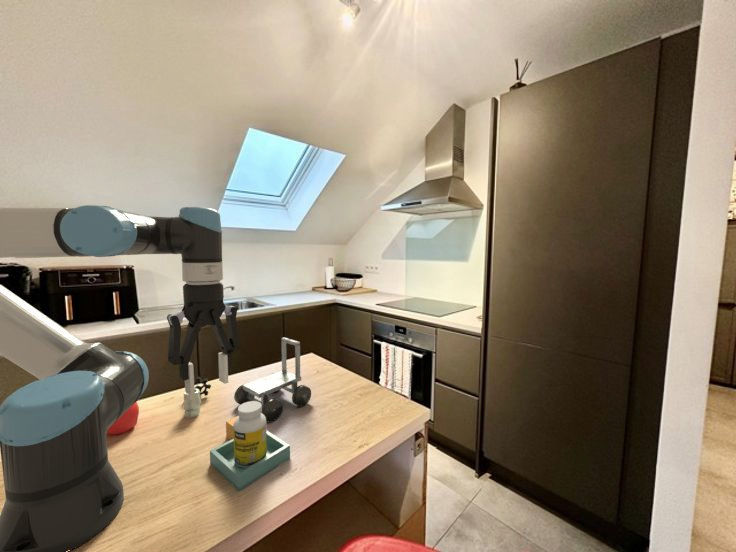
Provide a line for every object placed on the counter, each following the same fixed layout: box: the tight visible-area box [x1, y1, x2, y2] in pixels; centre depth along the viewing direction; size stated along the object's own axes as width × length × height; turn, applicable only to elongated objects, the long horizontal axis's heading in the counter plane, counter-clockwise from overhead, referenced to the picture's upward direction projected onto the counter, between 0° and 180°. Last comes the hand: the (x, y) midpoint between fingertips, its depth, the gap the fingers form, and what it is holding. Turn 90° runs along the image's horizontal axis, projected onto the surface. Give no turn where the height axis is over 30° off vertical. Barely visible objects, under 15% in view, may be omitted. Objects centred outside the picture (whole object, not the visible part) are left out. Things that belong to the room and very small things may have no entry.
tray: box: [209, 429, 291, 492], centre depth 65 cm, size 12×12×3 cm
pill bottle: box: [233, 401, 267, 468], centre depth 64 cm, size 6×6×12 cm
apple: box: [106, 401, 140, 436], centre depth 75 cm, size 8×8×8 cm
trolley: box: [233, 336, 312, 423], centre depth 87 cm, size 16×15×18 cm
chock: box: [225, 415, 239, 441], centre depth 73 cm, size 4×5×4 cm
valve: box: [182, 376, 212, 419], centre depth 86 cm, size 7×7×12 cm
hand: (207, 386), depth 66 cm, fingers open, 6 cm apart
